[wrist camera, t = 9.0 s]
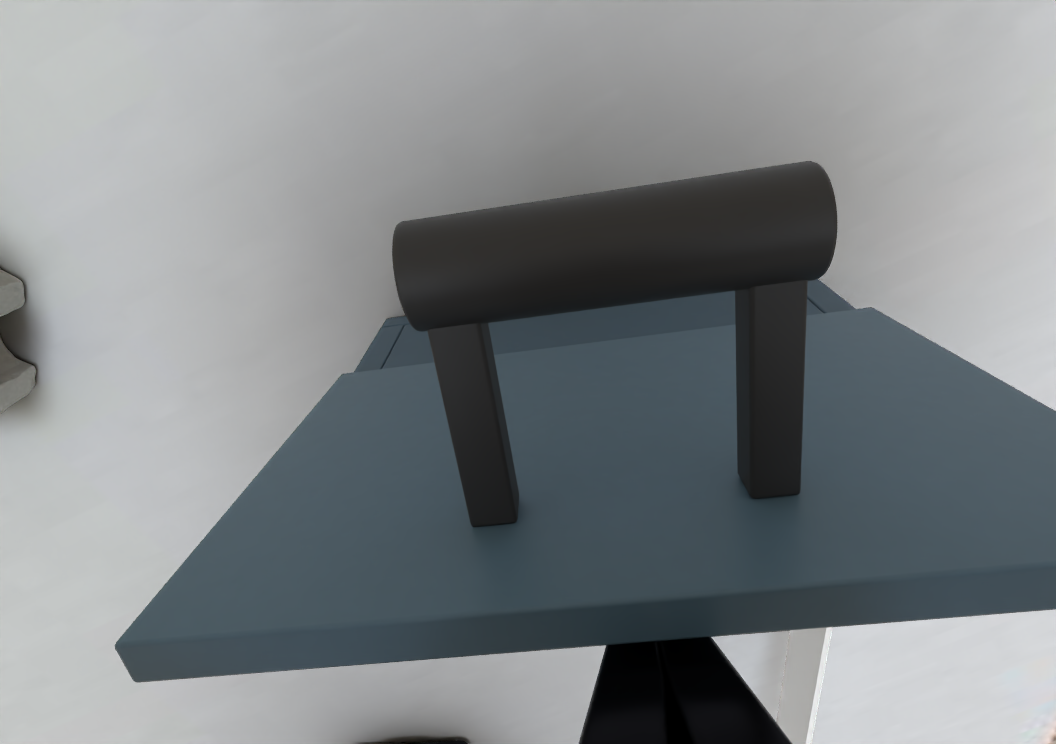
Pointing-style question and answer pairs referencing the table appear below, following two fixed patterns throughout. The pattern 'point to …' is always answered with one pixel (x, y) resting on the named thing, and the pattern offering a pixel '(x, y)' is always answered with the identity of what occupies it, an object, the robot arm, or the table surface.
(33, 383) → the egg carton
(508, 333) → the compartment
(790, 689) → the white guitar
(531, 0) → the table surface
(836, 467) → the lid
